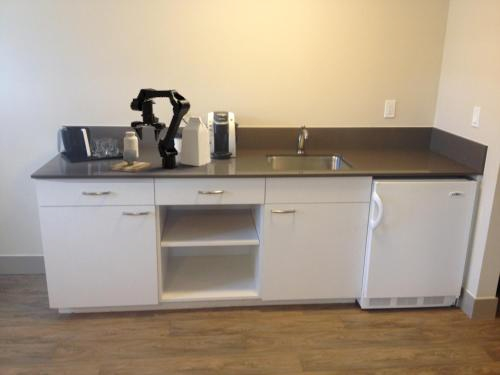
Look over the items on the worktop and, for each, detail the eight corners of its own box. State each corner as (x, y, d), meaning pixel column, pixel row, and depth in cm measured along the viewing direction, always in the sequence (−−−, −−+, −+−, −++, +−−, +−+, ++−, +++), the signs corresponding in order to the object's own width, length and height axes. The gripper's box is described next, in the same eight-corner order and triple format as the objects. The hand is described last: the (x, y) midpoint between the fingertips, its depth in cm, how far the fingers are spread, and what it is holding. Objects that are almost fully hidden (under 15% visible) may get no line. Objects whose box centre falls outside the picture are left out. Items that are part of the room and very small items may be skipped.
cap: (122, 159, 244) (121, 150, 243) (135, 158, 247) (134, 149, 246) (124, 162, 238) (124, 152, 237) (138, 161, 241) (137, 151, 240)
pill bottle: (141, 156, 270) (140, 131, 266) (132, 159, 263) (131, 133, 259) (130, 155, 273) (129, 130, 269) (121, 158, 266) (120, 132, 262)
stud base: (150, 165, 249) (150, 159, 248) (136, 172, 235) (136, 165, 234) (125, 163, 253) (125, 156, 252) (109, 169, 239) (109, 162, 238)
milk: (181, 163, 255) (180, 117, 247) (193, 159, 265) (192, 114, 257) (199, 166, 250) (198, 118, 242) (210, 162, 259) (210, 116, 252)
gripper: (170, 111, 250) (171, 139, 255) (140, 109, 255) (141, 137, 260) (160, 113, 240) (161, 142, 244) (129, 111, 245) (131, 140, 250)
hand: (149, 140), depth 250 cm, fingers open, 9 cm apart
